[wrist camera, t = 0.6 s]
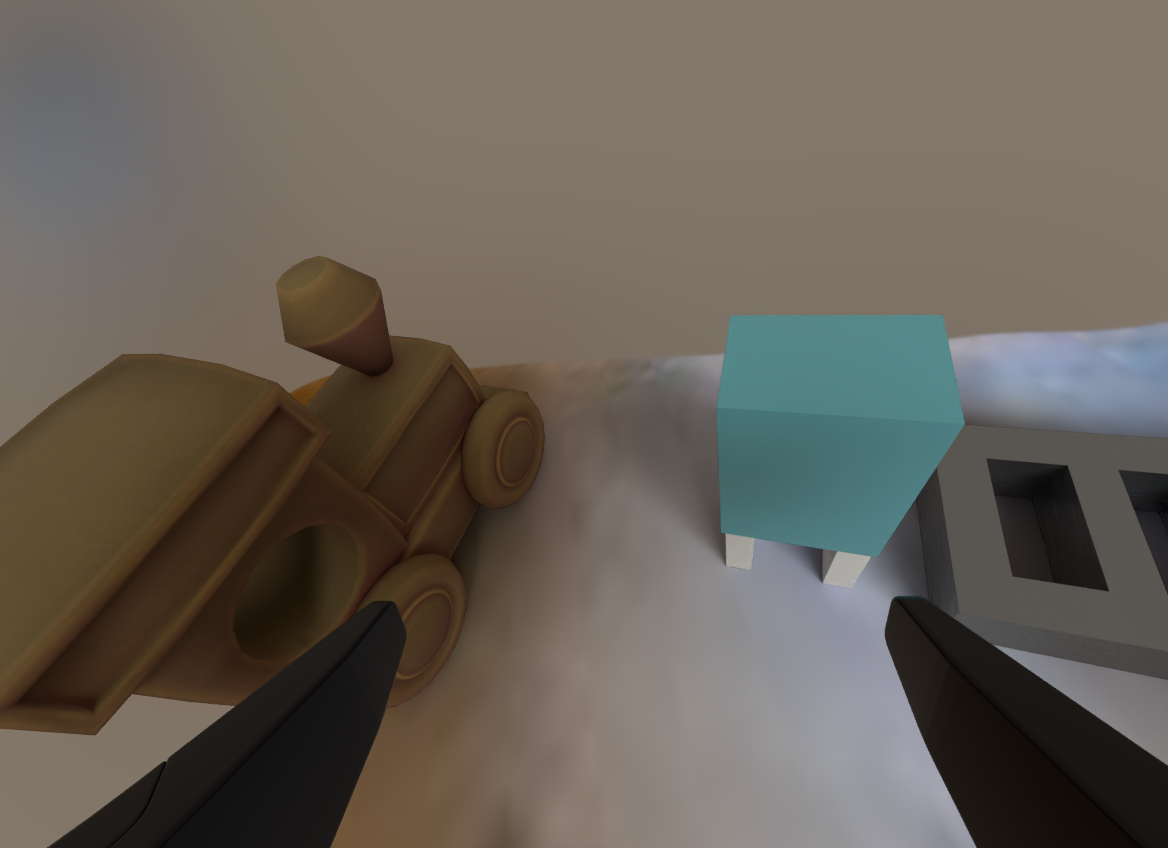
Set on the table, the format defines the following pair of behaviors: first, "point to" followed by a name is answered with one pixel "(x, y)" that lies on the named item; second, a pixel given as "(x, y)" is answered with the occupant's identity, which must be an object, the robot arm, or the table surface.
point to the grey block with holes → (1052, 544)
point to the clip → (830, 431)
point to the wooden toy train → (245, 513)
